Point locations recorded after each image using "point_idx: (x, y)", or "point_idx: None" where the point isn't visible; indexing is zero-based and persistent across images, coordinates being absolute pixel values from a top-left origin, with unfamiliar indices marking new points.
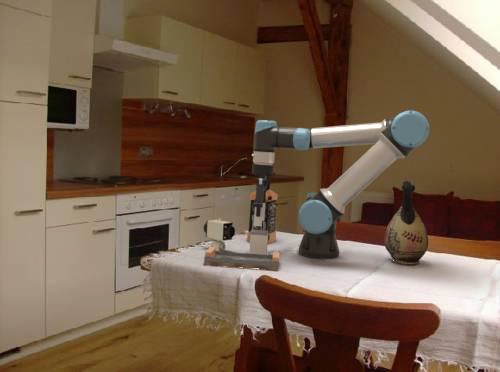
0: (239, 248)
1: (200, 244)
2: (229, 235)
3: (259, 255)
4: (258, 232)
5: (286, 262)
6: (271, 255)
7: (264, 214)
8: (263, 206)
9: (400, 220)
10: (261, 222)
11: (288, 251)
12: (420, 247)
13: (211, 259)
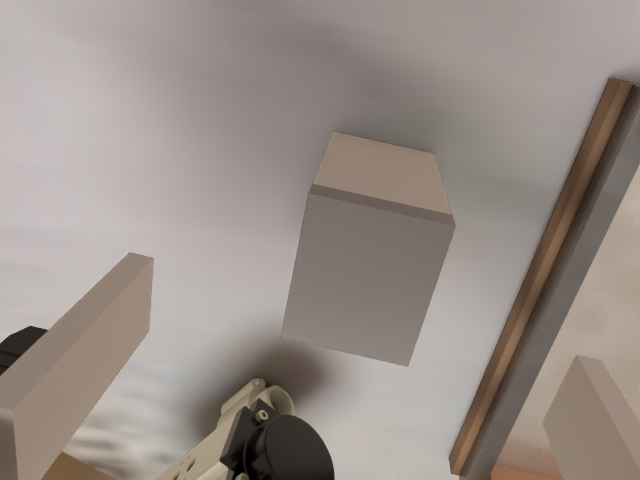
0: (160, 284)
1: (119, 461)
2: (320, 450)
3: (598, 243)
4: (427, 304)
5: (595, 10)
6: (632, 158)
7: (118, 297)
8: (49, 390)
9: None
10: (620, 391)
11: None
12: None
13: None
